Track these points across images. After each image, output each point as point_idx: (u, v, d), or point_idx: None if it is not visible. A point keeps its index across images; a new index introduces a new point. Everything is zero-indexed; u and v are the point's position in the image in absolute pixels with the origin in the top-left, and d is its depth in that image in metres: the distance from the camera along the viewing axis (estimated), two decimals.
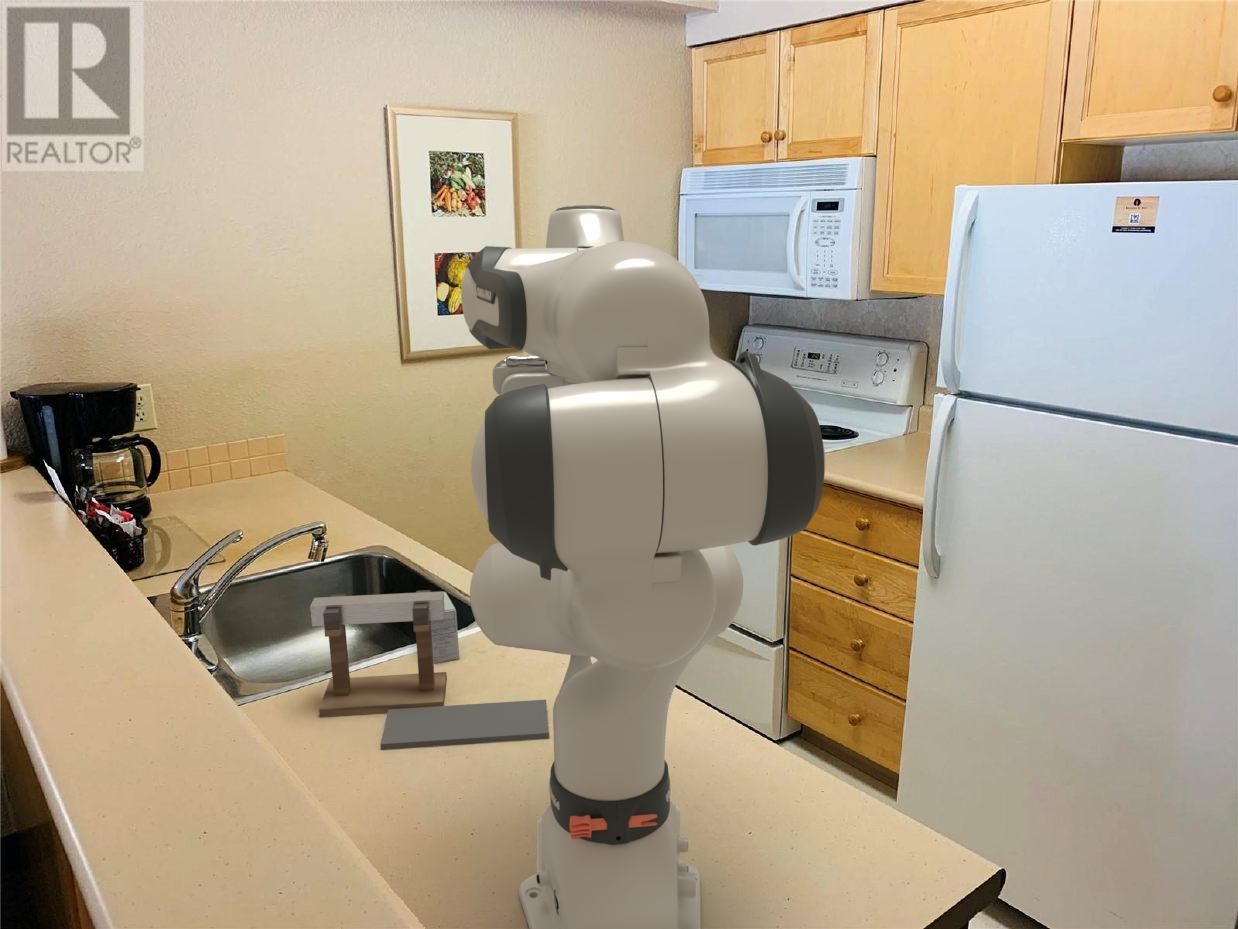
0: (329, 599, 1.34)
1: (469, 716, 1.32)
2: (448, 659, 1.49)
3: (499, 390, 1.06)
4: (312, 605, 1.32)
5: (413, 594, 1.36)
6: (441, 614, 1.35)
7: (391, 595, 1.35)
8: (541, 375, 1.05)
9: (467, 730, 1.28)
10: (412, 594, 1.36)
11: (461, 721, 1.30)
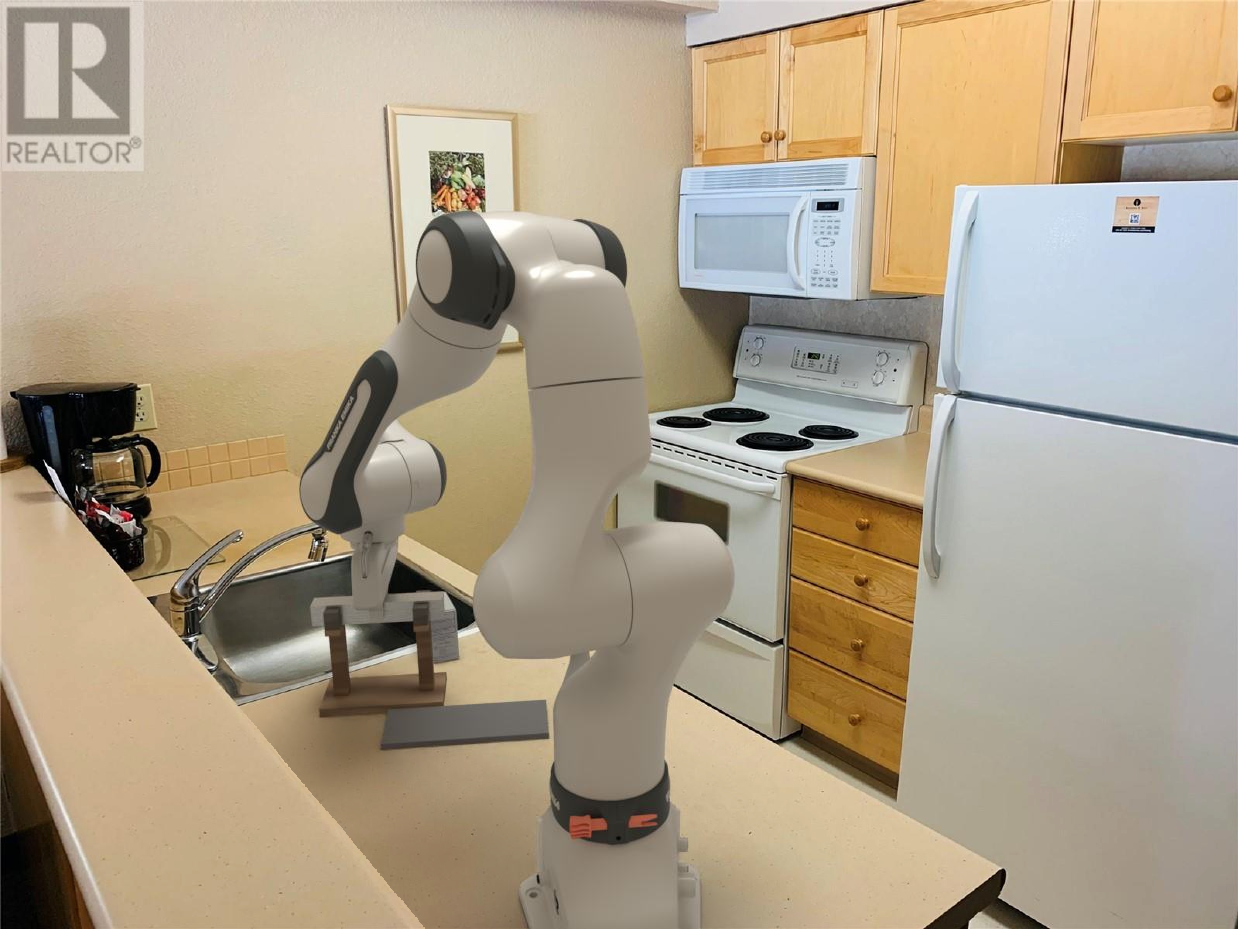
0: (329, 599, 1.34)
1: (469, 716, 1.32)
2: (448, 659, 1.49)
3: (367, 573, 1.23)
4: (312, 605, 1.32)
5: (413, 594, 1.36)
6: (441, 614, 1.34)
7: (391, 595, 1.35)
8: (380, 546, 1.27)
9: (467, 730, 1.28)
10: (412, 594, 1.36)
11: (461, 721, 1.30)
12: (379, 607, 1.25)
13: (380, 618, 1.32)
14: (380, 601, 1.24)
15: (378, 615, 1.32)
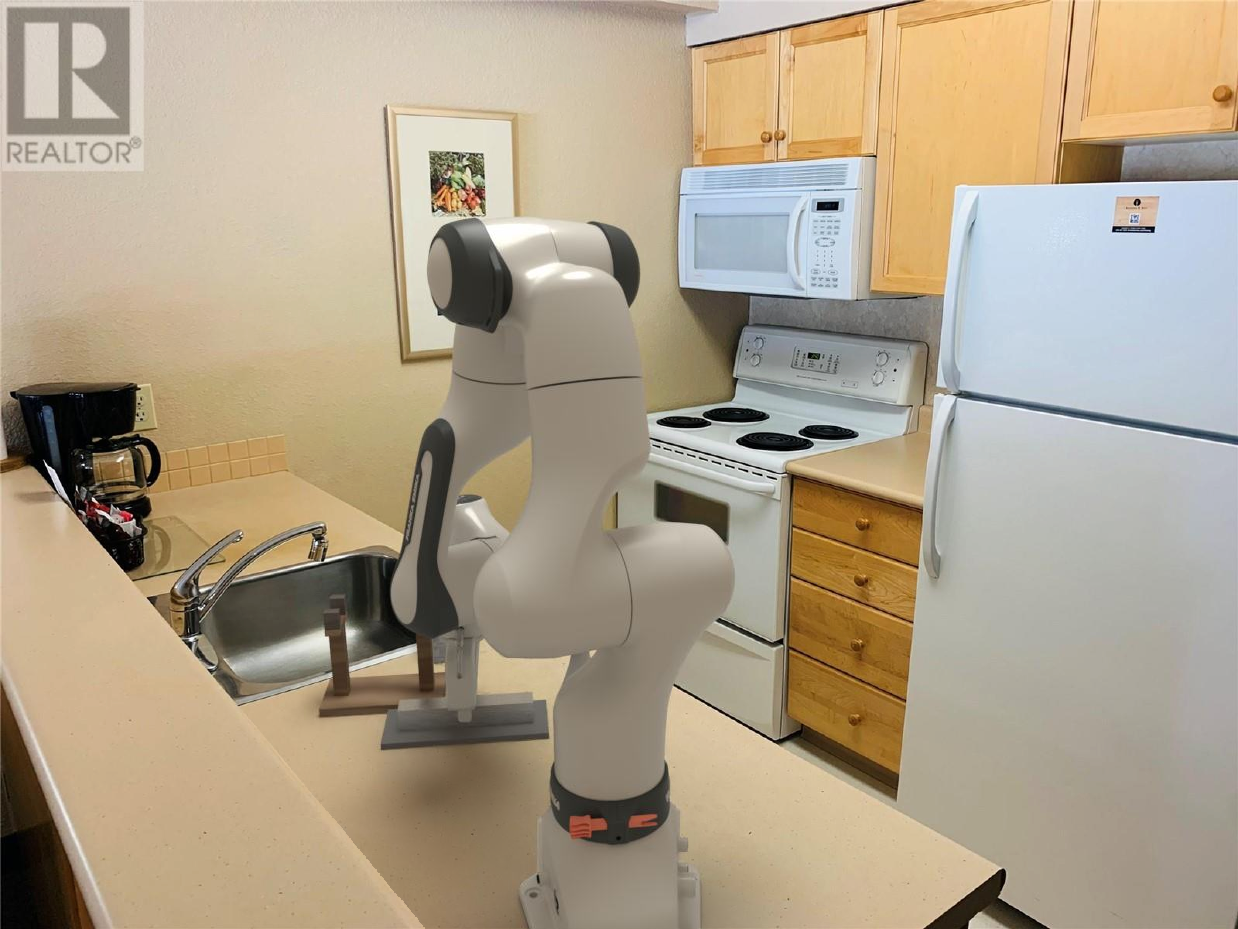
0: (415, 702, 1.29)
1: None
2: None
3: (462, 673, 1.18)
4: (399, 710, 1.27)
5: (501, 695, 1.31)
6: (531, 717, 1.30)
7: (479, 697, 1.31)
8: (472, 642, 1.22)
9: (467, 730, 1.28)
10: (500, 695, 1.31)
11: None
12: (473, 707, 1.20)
13: (469, 717, 1.26)
14: (475, 701, 1.19)
15: (467, 714, 1.26)
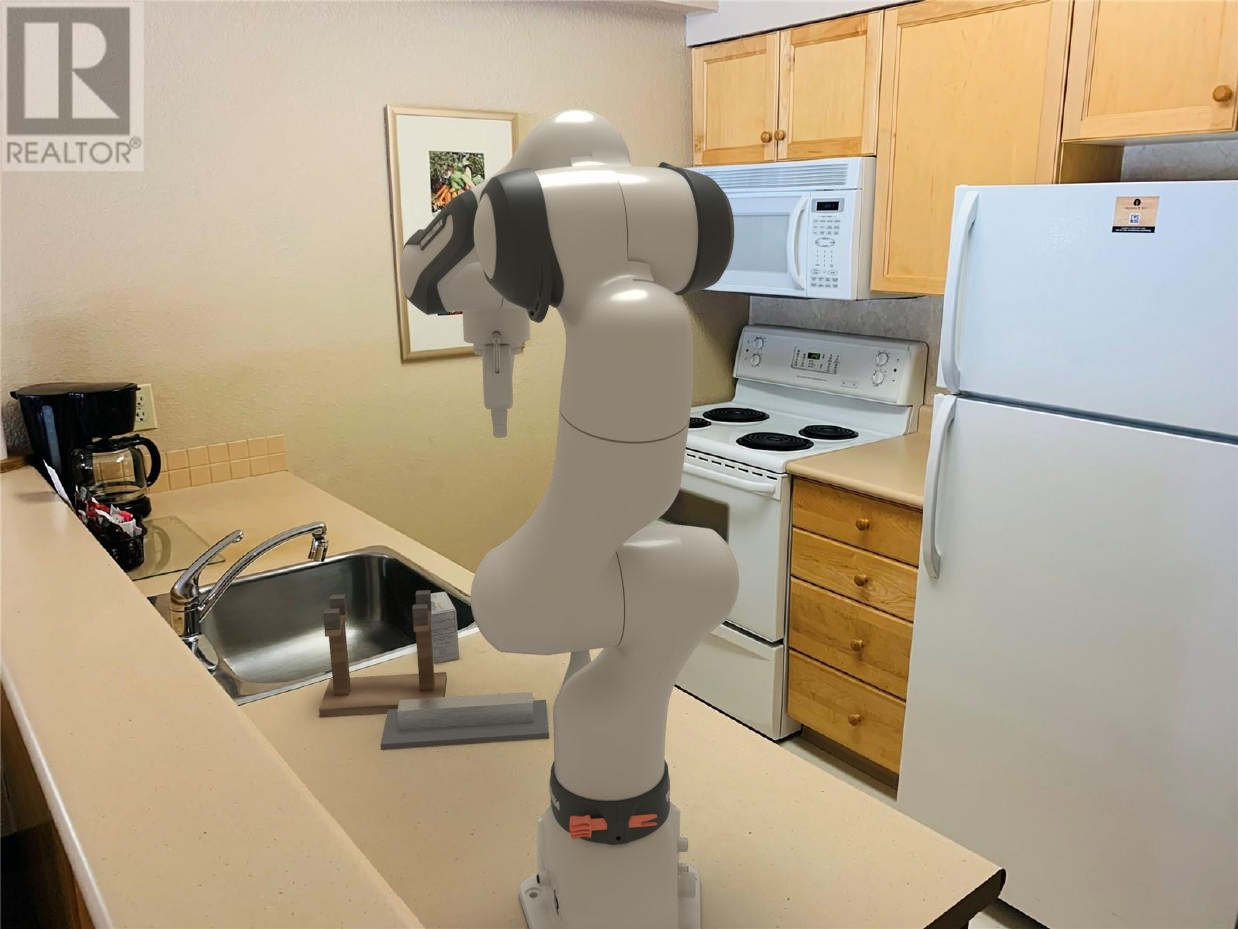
0: (415, 702, 1.29)
1: None
2: (448, 659, 1.49)
3: (500, 367, 1.19)
4: (399, 710, 1.27)
5: (501, 695, 1.31)
6: (531, 717, 1.30)
7: (479, 697, 1.31)
8: (509, 346, 1.23)
9: (467, 730, 1.28)
10: (500, 695, 1.31)
11: None
12: (510, 405, 1.21)
13: (504, 432, 1.26)
14: (512, 398, 1.21)
15: (502, 429, 1.26)
